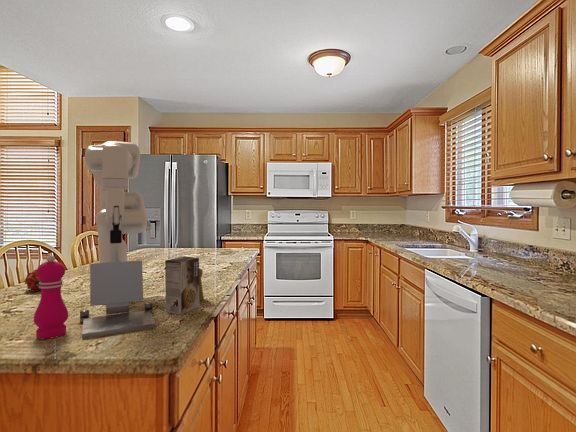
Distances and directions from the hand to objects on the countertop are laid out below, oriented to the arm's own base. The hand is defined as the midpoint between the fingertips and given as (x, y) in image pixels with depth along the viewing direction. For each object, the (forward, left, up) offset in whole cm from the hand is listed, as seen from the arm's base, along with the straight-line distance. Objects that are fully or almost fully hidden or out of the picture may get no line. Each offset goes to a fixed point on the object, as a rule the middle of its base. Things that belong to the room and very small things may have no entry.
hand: (115, 243), depth 111 cm
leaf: (+6, -6, -12) cm, 15 cm away
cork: (+18, +17, -21) cm, 32 cm away
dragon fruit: (-48, +12, -21) cm, 54 cm away
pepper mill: (+2, -24, -21) cm, 32 cm away
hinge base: (+12, -12, -21) cm, 27 cm away
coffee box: (+21, +5, -21) cm, 30 cm away
